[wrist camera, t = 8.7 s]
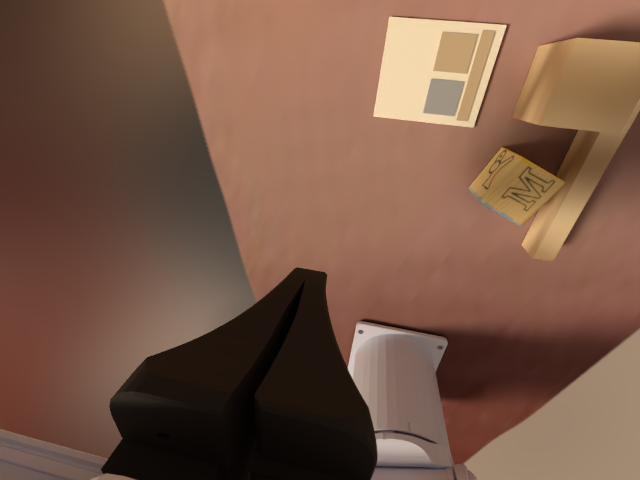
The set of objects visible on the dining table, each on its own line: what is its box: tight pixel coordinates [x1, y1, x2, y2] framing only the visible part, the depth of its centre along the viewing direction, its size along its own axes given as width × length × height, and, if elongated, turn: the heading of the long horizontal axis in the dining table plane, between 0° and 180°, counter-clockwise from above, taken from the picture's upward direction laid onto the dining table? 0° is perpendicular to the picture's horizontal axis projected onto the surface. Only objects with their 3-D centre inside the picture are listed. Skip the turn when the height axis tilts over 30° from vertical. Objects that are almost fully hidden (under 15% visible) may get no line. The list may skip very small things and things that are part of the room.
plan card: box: [373, 17, 507, 128], centre depth 17 cm, size 5×6×1 cm
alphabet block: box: [468, 147, 565, 226], centre depth 18 cm, size 3×3×3 cm
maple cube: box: [512, 38, 640, 134], centre depth 14 cm, size 4×4×4 cm
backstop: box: [522, 99, 640, 261], centre depth 17 cm, size 12×1×2 cm, turn 175°
